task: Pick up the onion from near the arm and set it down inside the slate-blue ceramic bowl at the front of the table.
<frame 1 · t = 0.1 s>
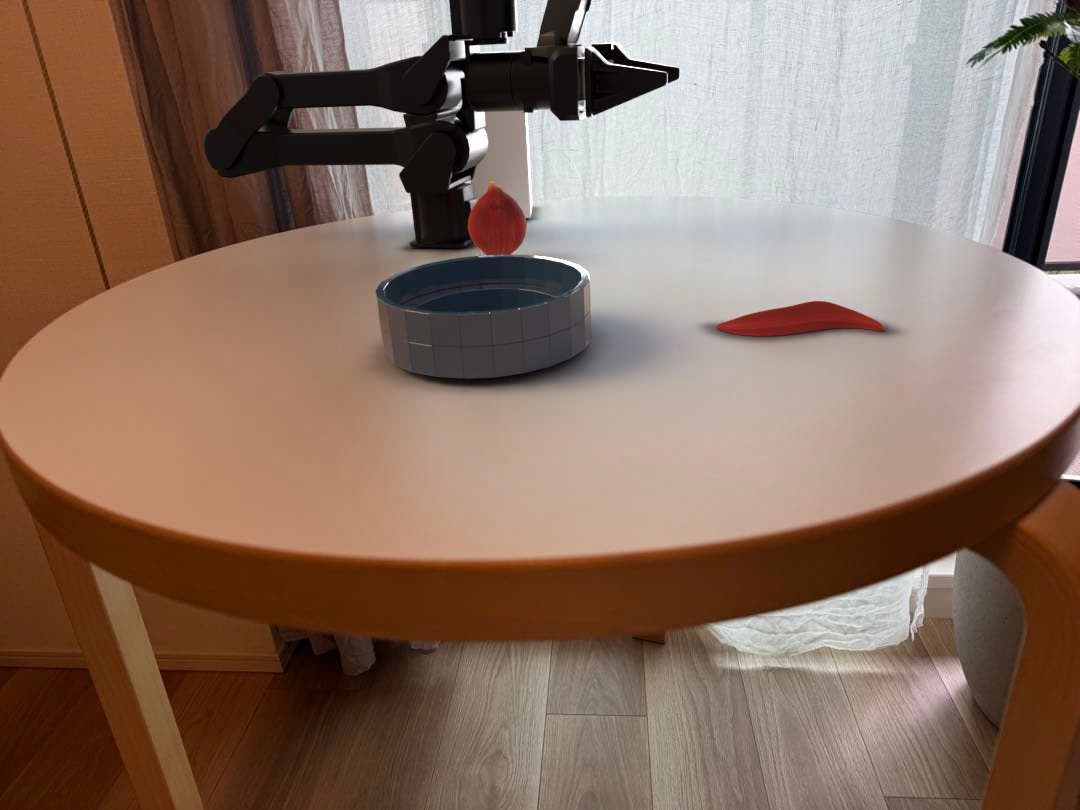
hand: (673, 75, 80), 17 cm above the table, tool horizontal, fingers open, 9 cm apart
cayenne pepper: (798, 330, 61), on the table
bowl: (488, 346, 61), on the table
milk carton: (504, 216, 106), on the table
onion: (500, 263, 84), on the table
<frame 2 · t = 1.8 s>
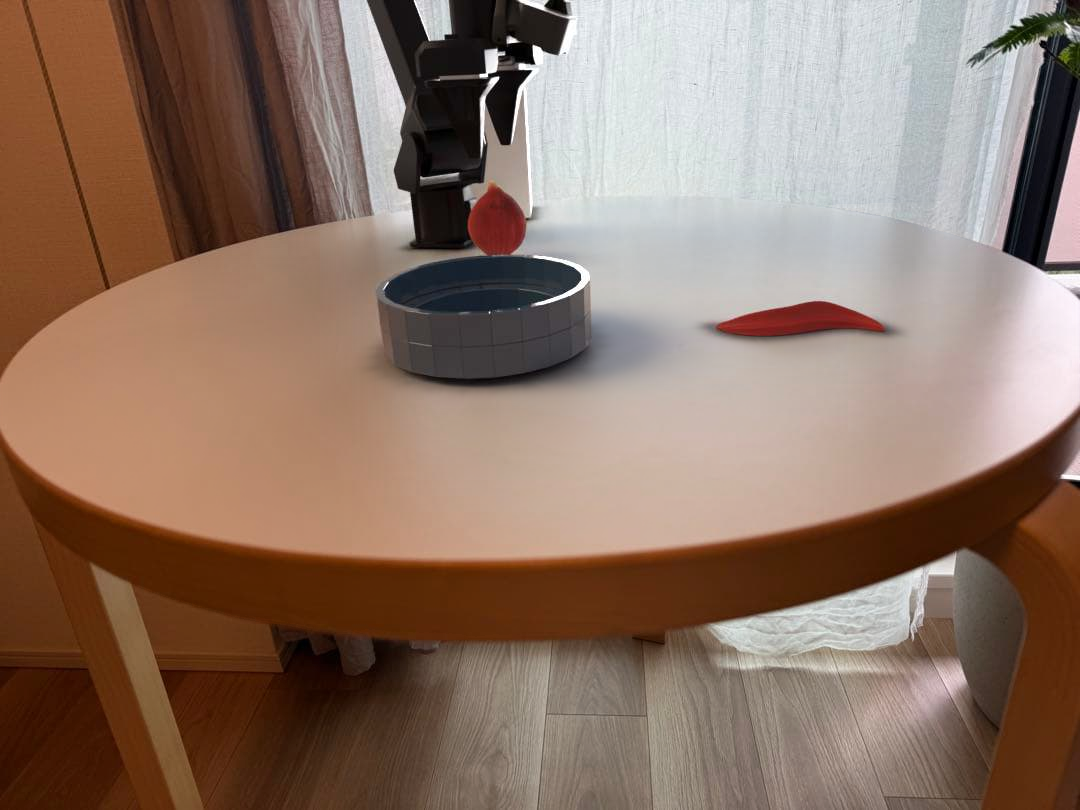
hand: (491, 151, 79), 11 cm above the table, tool pointing down, fingers open, 9 cm apart
nothing on the table moved.
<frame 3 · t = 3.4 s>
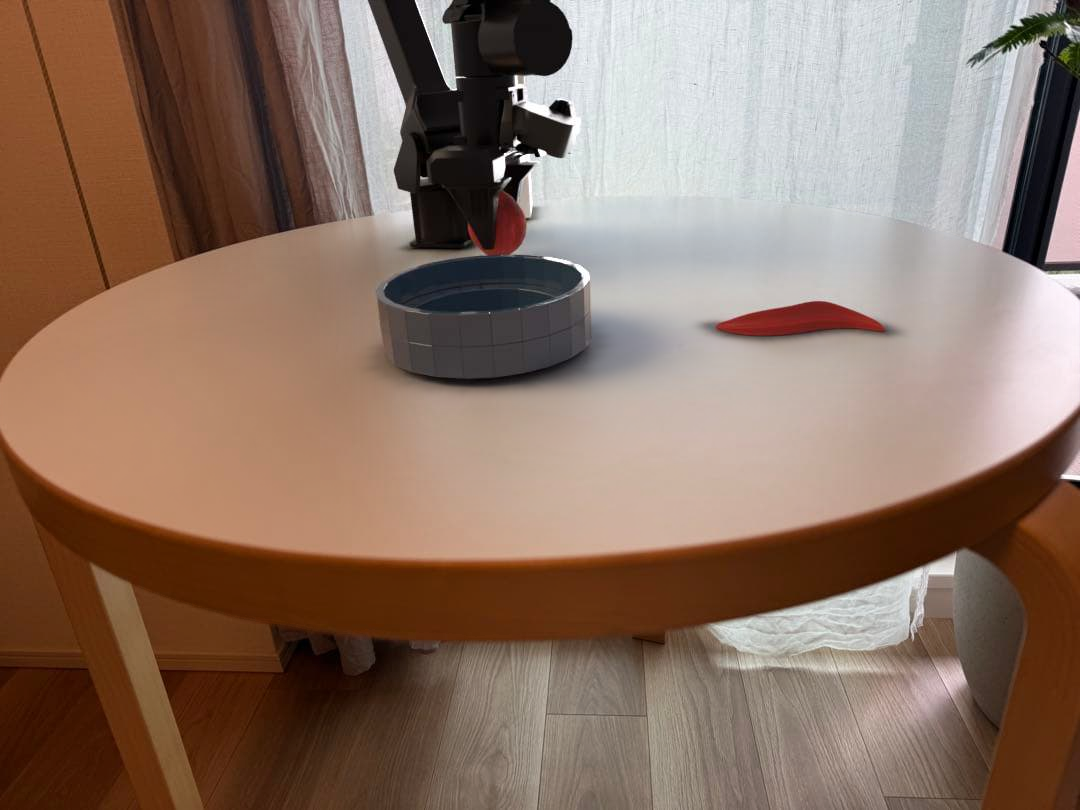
hand: (498, 242, 83), 2 cm above the table, tool pointing down, fingers closed on onion, 6 cm apart
onion: (500, 263, 84), on the table, touching gripper
everything else where it was.
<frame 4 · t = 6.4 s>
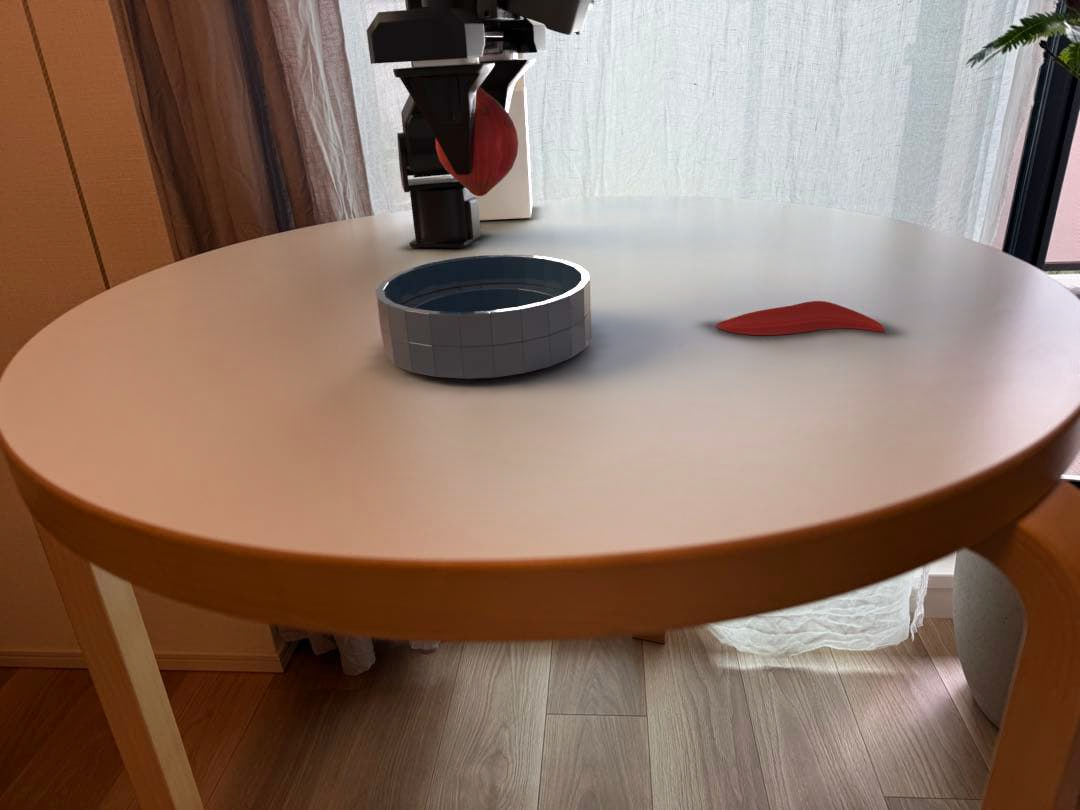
hand: (478, 168, 59), 12 cm above the table, tool pointing down, fingers closed on onion, 6 cm apart
onion: (481, 198, 60), point 10 cm above the table, touching gripper
everything else where it was.
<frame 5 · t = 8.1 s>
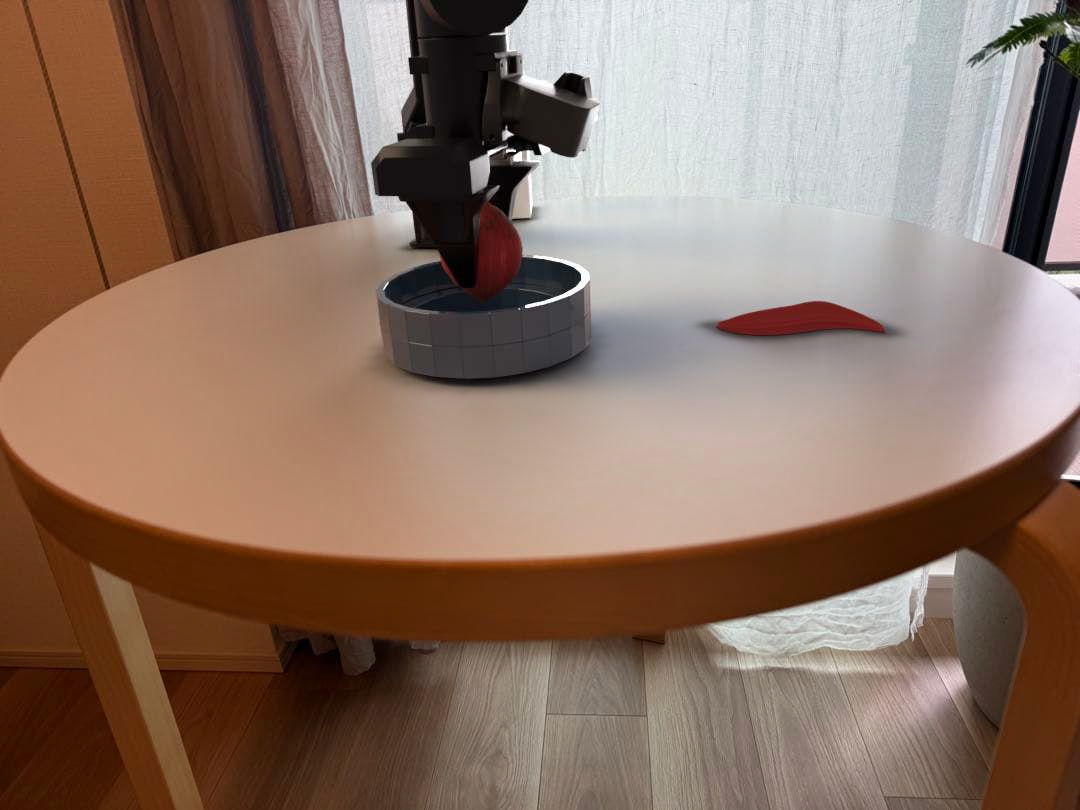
hand: (482, 275, 59), 5 cm above the table, tool pointing down, fingers closed on onion, 6 cm apart
onion: (485, 304, 60), point 3 cm above the table, touching gripper
everything else where it was.
when the fingers open (3 cm above the table, at t = 9.5 s): onion stays where it is, resting on bowl.
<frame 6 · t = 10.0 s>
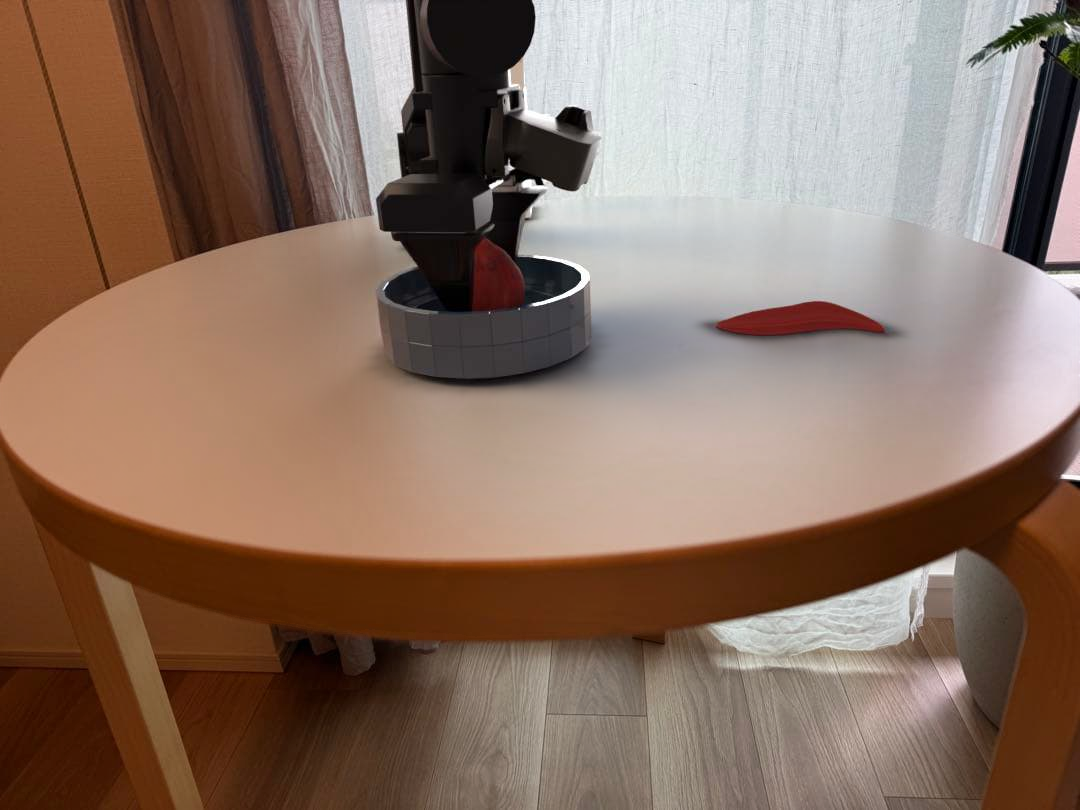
hand: (485, 304, 60), 3 cm above the table, tool pointing down, fingers open, 9 cm apart
onion: (488, 340, 61), resting on bowl
everything else where it was.
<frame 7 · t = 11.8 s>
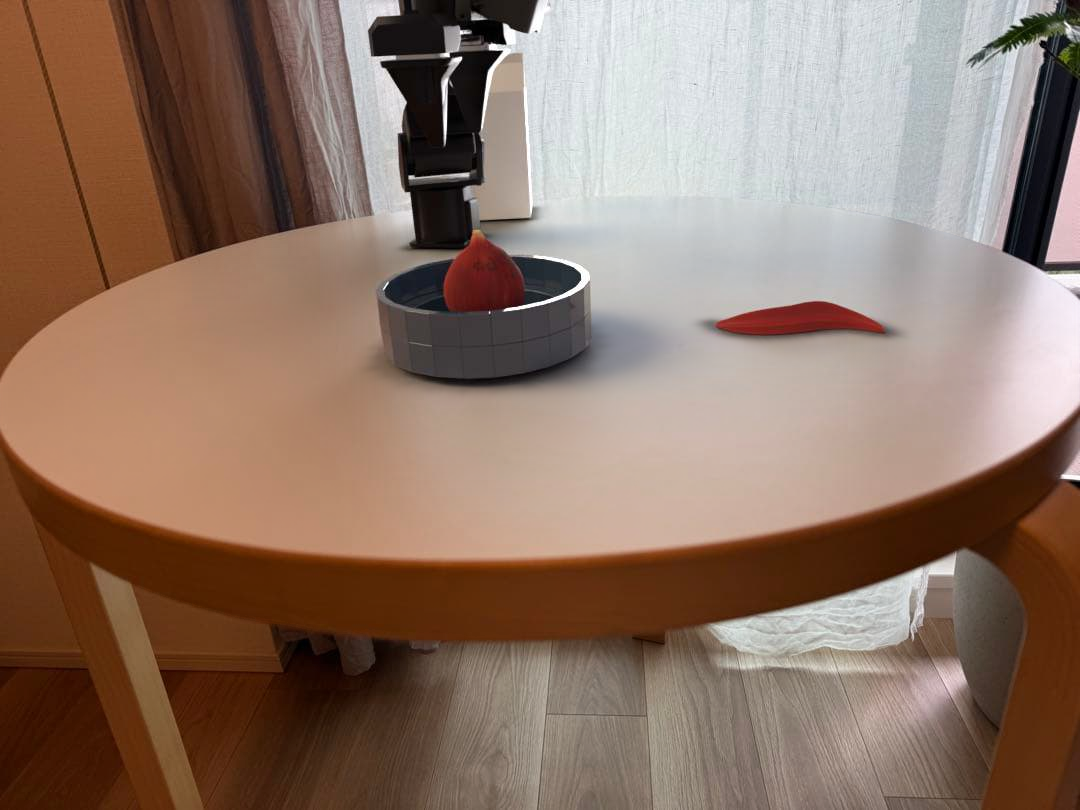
hand: (458, 139, 73), 13 cm above the table, tool pointing down, fingers open, 9 cm apart
nothing on the table moved.
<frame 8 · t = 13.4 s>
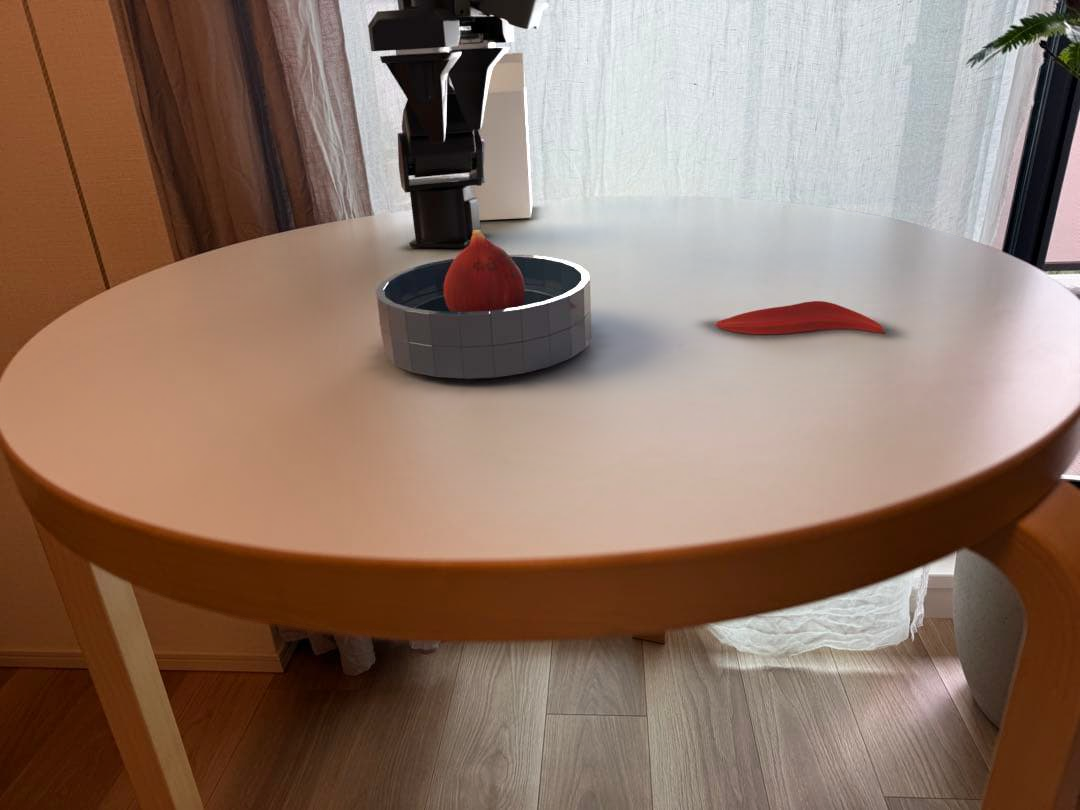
hand: (457, 135, 73), 13 cm above the table, tool pointing down, fingers open, 9 cm apart
nothing on the table moved.
at the end: onion inside the target area in the bowl (0.1 cm from its centre), point 0.4 cm above the bowl's base; the gripper is holding nothing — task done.
